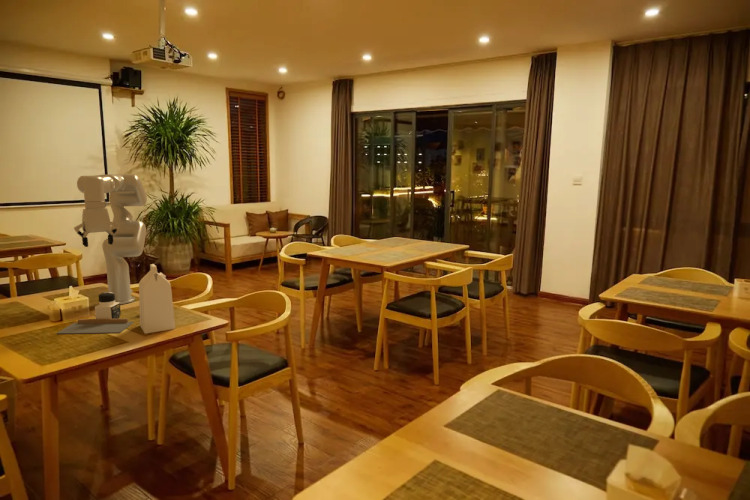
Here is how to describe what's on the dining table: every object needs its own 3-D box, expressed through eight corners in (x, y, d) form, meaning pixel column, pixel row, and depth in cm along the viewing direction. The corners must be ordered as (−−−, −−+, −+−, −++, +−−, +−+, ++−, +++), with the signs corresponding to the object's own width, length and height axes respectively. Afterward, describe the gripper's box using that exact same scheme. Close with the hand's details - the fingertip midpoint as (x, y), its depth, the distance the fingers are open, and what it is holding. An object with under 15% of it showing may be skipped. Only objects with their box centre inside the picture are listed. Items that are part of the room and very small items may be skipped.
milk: (140, 325, 205) (135, 264, 200) (169, 320, 211) (165, 261, 207) (144, 333, 195) (140, 269, 191) (175, 328, 201) (171, 266, 197)
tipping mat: (74, 323, 206) (74, 319, 206) (133, 322, 208) (133, 318, 208) (56, 334, 193) (56, 329, 193) (119, 333, 195) (119, 328, 195)
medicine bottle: (112, 323, 208) (110, 295, 206) (95, 322, 208) (93, 295, 206) (121, 317, 215) (119, 291, 213) (105, 317, 215) (102, 290, 213)
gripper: (113, 204, 218) (116, 242, 221) (69, 206, 206) (73, 246, 208) (120, 205, 213) (122, 244, 216) (75, 207, 201) (79, 248, 203)
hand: (98, 245), depth 212 cm, fingers open, 9 cm apart
